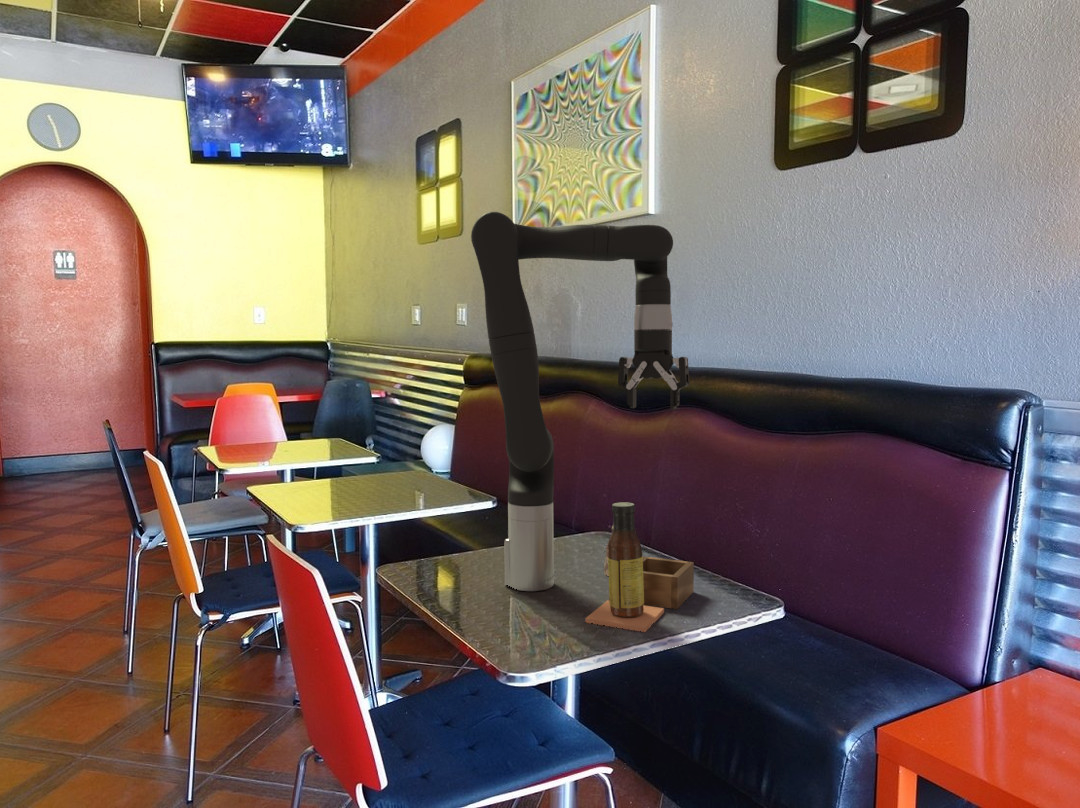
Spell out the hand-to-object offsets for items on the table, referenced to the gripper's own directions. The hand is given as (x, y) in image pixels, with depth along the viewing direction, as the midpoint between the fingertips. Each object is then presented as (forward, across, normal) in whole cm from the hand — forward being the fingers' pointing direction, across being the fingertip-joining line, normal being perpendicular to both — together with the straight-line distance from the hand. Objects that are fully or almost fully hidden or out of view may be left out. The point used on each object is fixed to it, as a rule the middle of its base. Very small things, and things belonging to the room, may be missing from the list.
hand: (653, 408), depth 158 cm
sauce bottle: (+36, +2, -22) cm, 42 cm away
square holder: (+36, +4, -8) cm, 37 cm away
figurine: (+36, -8, +3) cm, 38 cm away
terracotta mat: (+36, +2, -22) cm, 42 cm away
